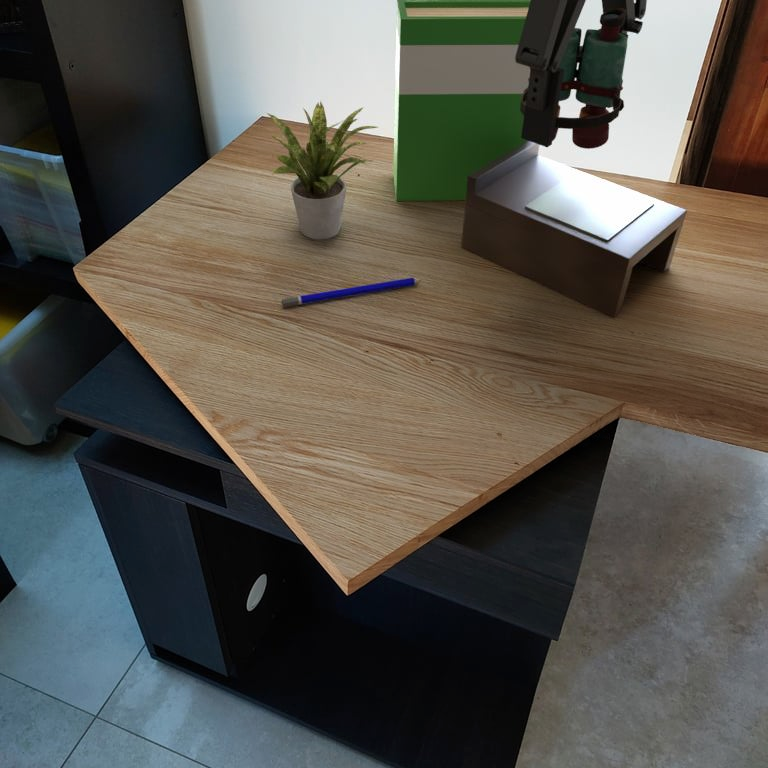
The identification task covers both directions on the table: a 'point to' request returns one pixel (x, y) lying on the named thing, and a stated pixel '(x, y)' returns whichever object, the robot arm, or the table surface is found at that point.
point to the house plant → (318, 173)
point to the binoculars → (593, 80)
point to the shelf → (566, 227)
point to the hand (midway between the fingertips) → (568, 121)
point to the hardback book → (455, 92)
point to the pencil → (349, 291)
